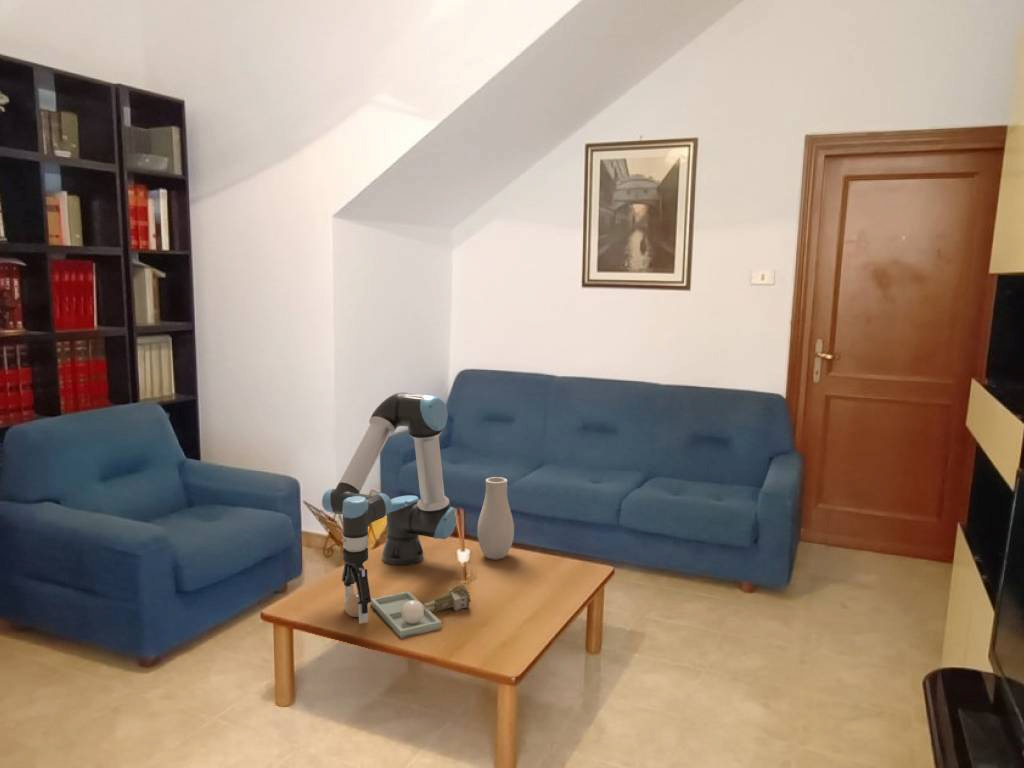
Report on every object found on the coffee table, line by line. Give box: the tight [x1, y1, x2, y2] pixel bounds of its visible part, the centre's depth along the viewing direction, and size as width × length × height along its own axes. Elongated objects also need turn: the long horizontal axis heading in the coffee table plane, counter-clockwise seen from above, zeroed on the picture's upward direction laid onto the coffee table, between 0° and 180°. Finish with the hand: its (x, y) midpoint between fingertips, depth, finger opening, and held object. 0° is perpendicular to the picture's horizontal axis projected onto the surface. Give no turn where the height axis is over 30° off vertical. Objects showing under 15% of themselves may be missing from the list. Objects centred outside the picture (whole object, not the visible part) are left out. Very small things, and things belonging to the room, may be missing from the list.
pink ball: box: [344, 593, 360, 618], centre depth 238 cm, size 7×7×7 cm
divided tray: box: [370, 591, 442, 639], centre depth 239 cm, size 13×25×2 cm, turn 30°
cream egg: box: [401, 600, 424, 624], centre depth 233 cm, size 7×7×7 cm
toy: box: [424, 584, 471, 612], centre depth 244 cm, size 7×7×15 cm
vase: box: [476, 476, 515, 561], centre depth 287 cm, size 14×14×30 cm
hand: (356, 613), depth 239 cm, fingers open, 12 cm apart
